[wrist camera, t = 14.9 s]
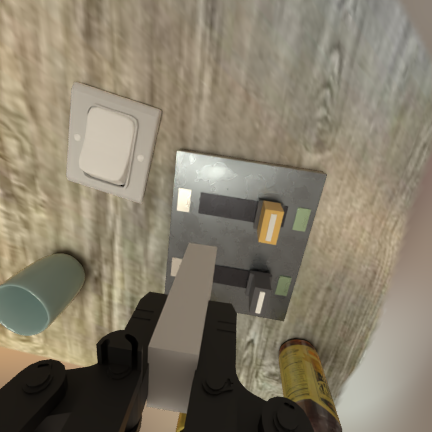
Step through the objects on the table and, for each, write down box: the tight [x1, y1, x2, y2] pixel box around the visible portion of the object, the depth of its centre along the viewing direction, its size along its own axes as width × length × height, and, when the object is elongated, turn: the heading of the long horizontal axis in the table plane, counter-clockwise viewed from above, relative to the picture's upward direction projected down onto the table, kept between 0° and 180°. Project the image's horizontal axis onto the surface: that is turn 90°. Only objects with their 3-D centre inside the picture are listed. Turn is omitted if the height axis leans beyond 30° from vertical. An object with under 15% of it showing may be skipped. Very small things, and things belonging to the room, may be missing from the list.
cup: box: [0, 253, 85, 336], centre depth 37 cm, size 8×8×10 cm
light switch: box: [66, 82, 162, 203], centre depth 33 cm, size 11×4×13 cm
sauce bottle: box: [279, 339, 342, 432], centre depth 34 cm, size 7×6×20 cm
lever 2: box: [245, 270, 272, 316], centre depth 34 cm, size 4×3×4 cm
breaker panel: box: [165, 149, 327, 321], centre depth 36 cm, size 22×18×2 cm
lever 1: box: [253, 200, 284, 245], centre depth 31 cm, size 4×3×4 cm
